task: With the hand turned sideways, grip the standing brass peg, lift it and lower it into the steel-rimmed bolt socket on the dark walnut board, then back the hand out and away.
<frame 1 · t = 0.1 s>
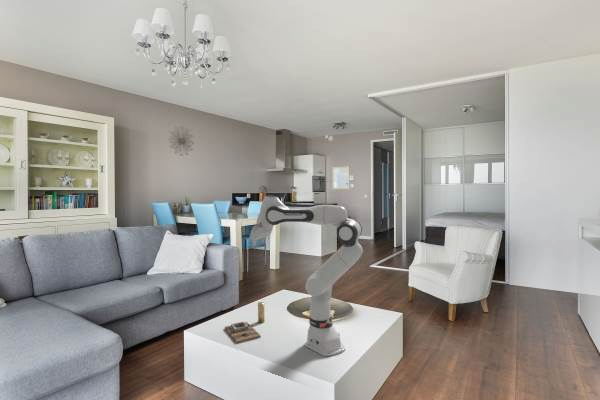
hand: (257, 244, 195), 52 cm above the table, tool tilted 20°, fingers open, 8 cm apart
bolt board: (242, 333, 197), on the table
brass peg: (261, 321, 212), on the table
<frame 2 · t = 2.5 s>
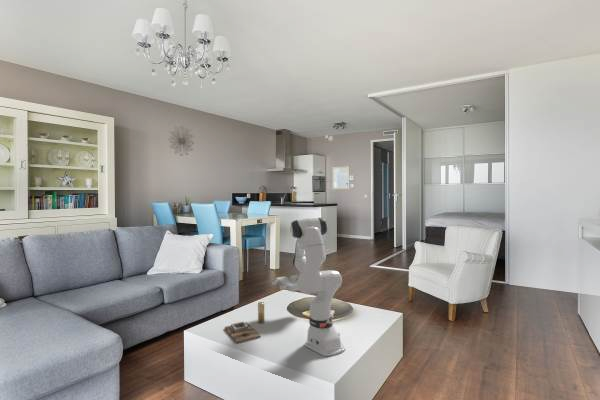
hand: (276, 286, 217), 21 cm above the table, tool horizontal, fingers open, 8 cm apart
nothing on the table moved.
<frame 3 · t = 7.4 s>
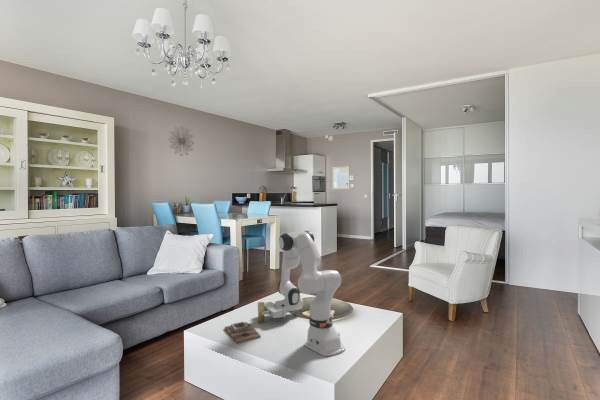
hand: (259, 311, 212), 7 cm above the table, tool horizontal, fingers closed on brass peg, 4 cm apart
brass peg: (261, 321, 212), on the table, touching gripper
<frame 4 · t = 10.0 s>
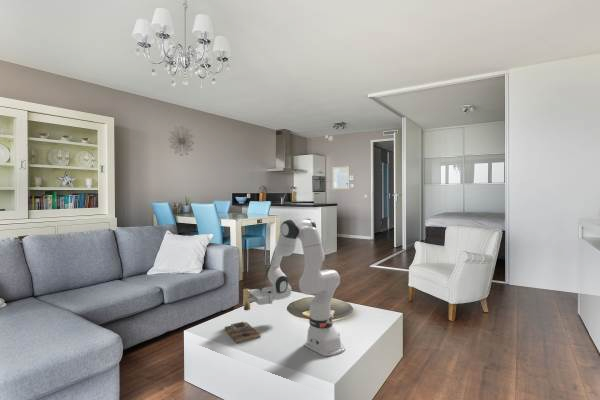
hand: (245, 298, 203), 18 cm above the table, tool horizontal, fingers closed on brass peg, 4 cm apart
brass peg: (246, 309, 204), point 11 cm above the table, touching gripper
when the fingers open (9 cm above the table, at t = 12.9 s): brass peg drops 1 cm, resting on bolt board.
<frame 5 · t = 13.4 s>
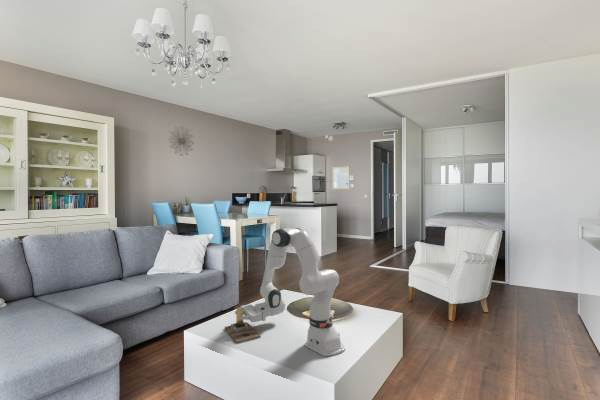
hand: (237, 315, 199), 9 cm above the table, tool horizontal, fingers open, 8 cm apart
brass peg: (239, 328, 200), point 1 cm above the table, touching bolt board
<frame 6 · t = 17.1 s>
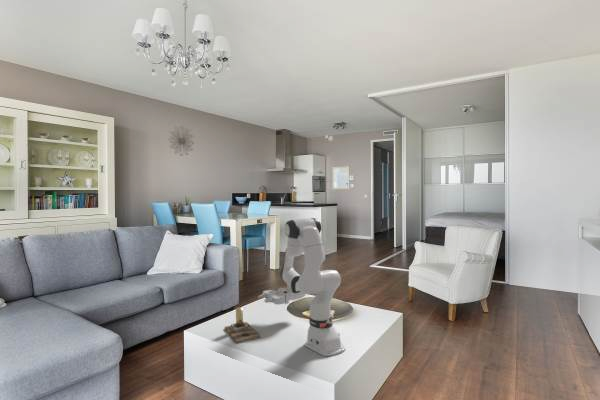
hand: (261, 299, 206), 17 cm above the table, tool horizontal, fingers open, 8 cm apart
nothing on the table moved.
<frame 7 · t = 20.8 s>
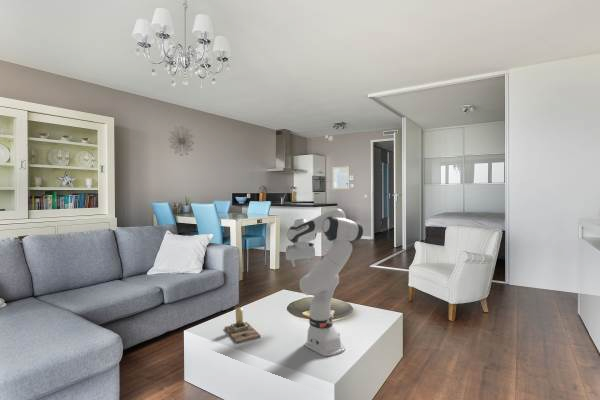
hand: (300, 265, 217), 34 cm above the table, tool pointing down, fingers open, 8 cm apart
nothing on the table moved.
at the end: brass peg 0.0 cm from the target spot on the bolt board, point 1.2 cm above the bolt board's base; brass peg tilted 1°; the gripper is holding nothing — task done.
